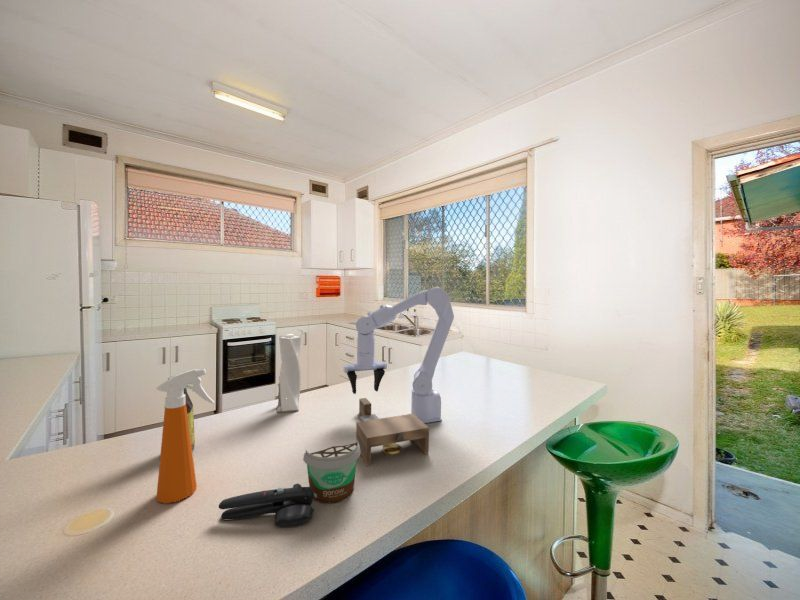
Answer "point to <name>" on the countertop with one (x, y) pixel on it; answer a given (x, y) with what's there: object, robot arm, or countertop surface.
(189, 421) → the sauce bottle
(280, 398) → the skyscraper
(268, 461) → the countertop surface
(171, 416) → the spray bottle
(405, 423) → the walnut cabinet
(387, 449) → the brass token
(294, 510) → the can opener
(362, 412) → the putty knife
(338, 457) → the food container
